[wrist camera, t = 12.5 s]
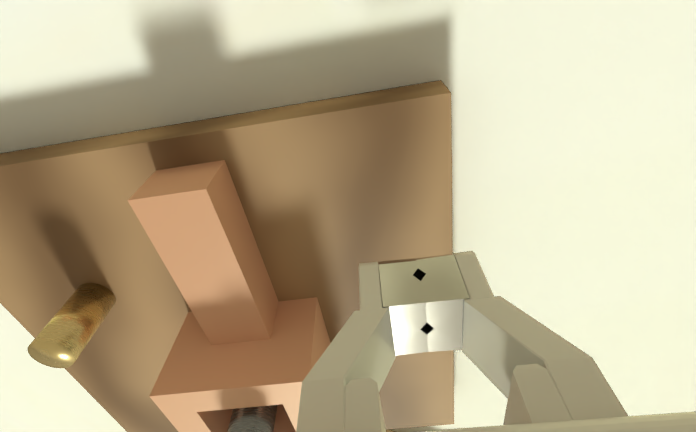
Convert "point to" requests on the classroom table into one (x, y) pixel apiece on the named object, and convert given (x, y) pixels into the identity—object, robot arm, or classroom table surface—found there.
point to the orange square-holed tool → (224, 306)
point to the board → (265, 222)
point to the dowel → (72, 326)
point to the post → (253, 419)
